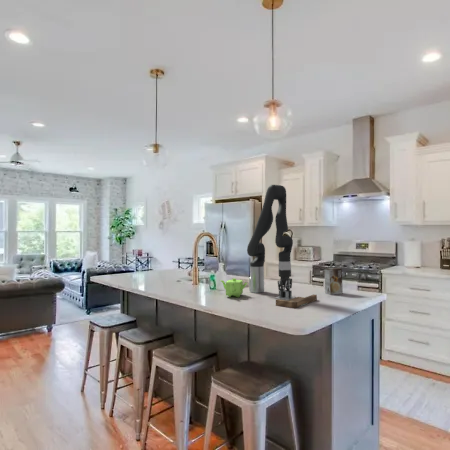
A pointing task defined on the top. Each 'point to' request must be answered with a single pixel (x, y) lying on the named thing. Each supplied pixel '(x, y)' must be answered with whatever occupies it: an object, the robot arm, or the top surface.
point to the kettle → (234, 287)
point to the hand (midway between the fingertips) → (285, 296)
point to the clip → (286, 294)
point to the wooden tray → (296, 301)
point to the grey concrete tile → (285, 298)
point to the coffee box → (333, 281)
